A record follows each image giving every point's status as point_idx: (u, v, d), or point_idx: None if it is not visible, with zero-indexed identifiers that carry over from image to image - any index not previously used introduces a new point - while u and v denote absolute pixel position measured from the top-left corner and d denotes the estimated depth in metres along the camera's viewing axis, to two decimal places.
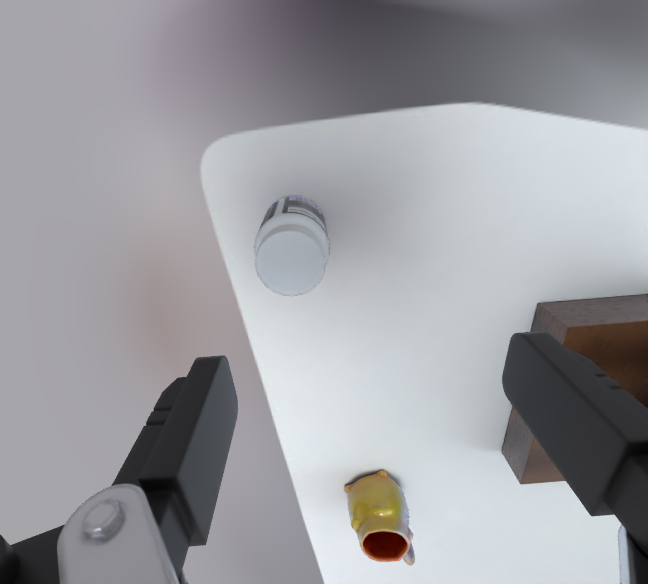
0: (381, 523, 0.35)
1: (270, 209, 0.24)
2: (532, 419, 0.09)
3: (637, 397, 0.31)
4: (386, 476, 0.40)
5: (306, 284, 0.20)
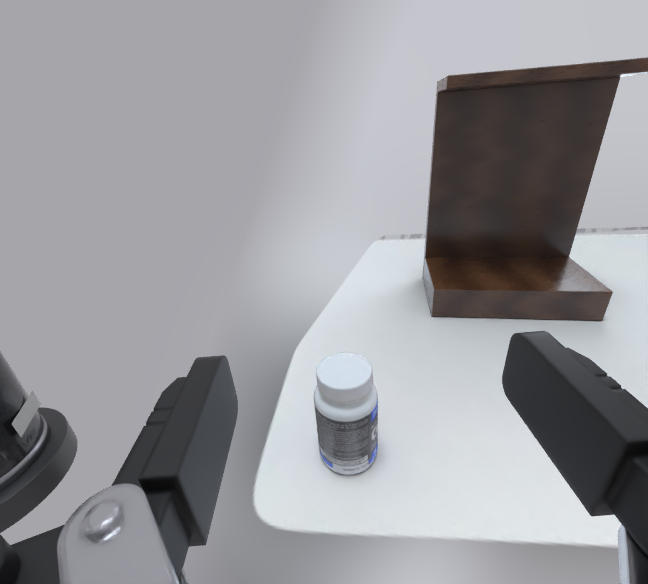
0: None
1: (321, 444, 0.26)
2: (532, 419, 0.09)
3: (487, 263, 0.49)
4: None
5: (362, 362, 0.24)
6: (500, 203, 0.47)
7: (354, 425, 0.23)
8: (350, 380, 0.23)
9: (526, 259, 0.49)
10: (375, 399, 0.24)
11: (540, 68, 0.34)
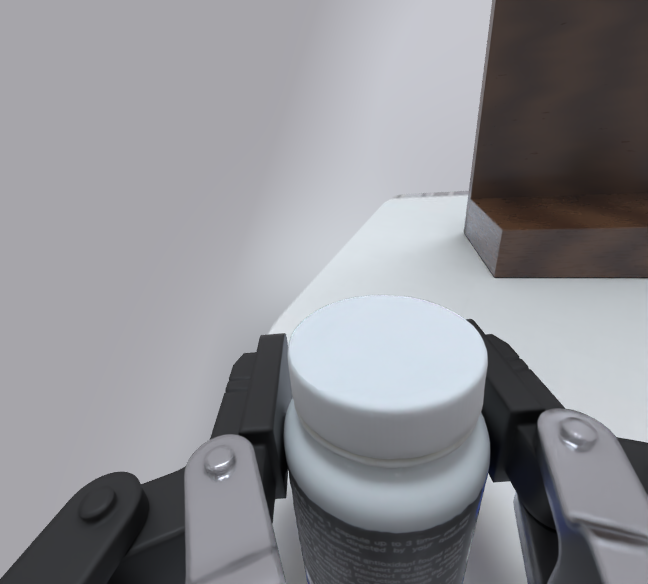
0: None
1: (307, 565, 0.09)
2: None
3: (571, 200, 0.32)
4: None
5: (441, 318, 0.07)
6: (595, 104, 0.30)
7: (426, 543, 0.06)
8: (414, 374, 0.06)
9: (630, 195, 0.32)
10: (488, 440, 0.07)
11: None
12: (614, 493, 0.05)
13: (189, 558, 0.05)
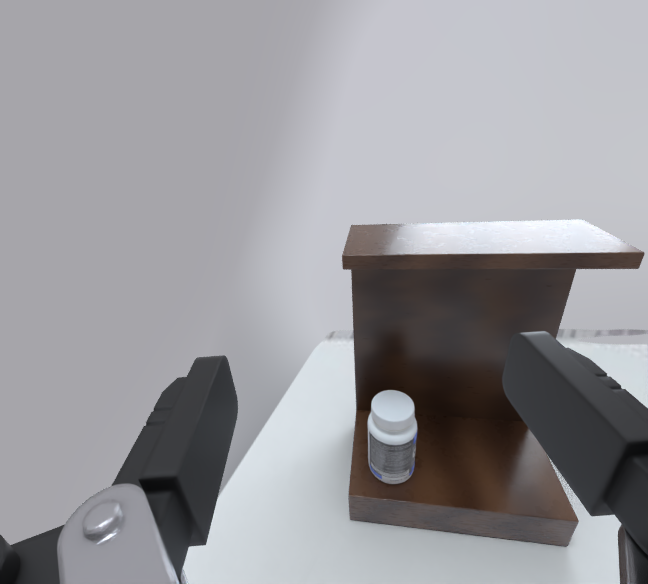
0: None
1: (372, 460, 0.33)
2: (532, 419, 0.09)
3: (429, 430, 0.39)
4: None
5: (406, 399, 0.32)
6: (442, 362, 0.37)
7: (401, 447, 0.31)
8: (399, 414, 0.30)
9: (478, 424, 0.39)
10: (416, 427, 0.32)
11: (466, 255, 0.24)
12: None
13: None
